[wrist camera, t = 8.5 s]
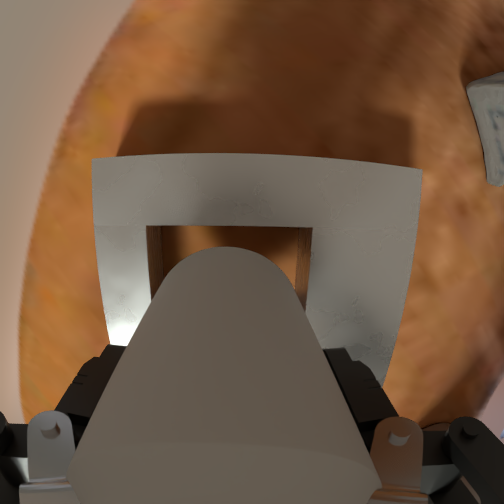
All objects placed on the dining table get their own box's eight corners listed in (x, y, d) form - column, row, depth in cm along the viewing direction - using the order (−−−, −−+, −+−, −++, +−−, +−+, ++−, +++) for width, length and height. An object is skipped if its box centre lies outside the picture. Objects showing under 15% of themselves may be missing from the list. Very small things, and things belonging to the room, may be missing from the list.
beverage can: (147, 252, 13) (-29, 472, 2) (289, 232, 14) (463, 471, 2) (176, 367, 15) (131, 589, 4) (299, 354, 15) (369, 578, 4)
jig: (395, 167, 16) (422, 169, 13) (364, 371, 20) (378, 397, 17) (114, 159, 15) (91, 158, 13) (136, 373, 19) (124, 401, 16)
